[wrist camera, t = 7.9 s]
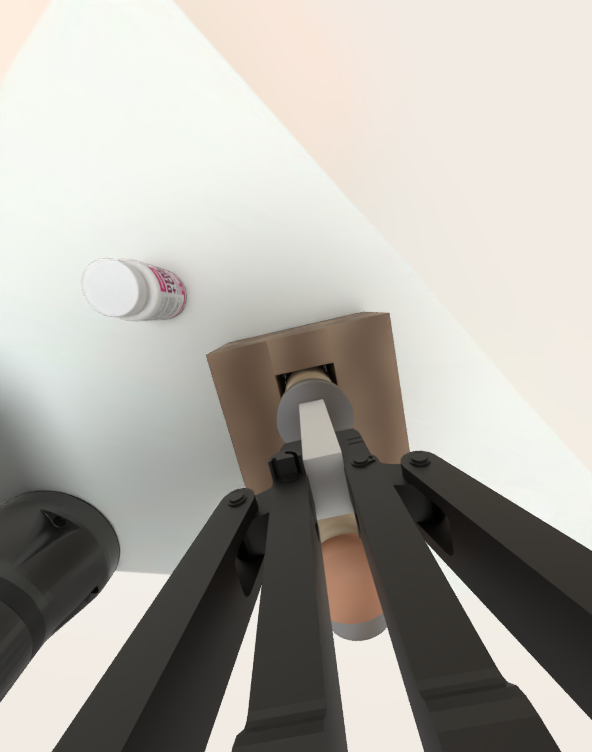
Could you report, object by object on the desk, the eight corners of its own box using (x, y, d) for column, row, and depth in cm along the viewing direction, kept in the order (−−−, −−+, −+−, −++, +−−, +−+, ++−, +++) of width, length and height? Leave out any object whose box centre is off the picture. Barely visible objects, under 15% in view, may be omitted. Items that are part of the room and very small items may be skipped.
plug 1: (288, 402, 30) (286, 462, 18) (278, 358, 29) (268, 392, 17) (333, 392, 30) (360, 446, 18) (324, 347, 29) (346, 374, 17)
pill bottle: (196, 289, 28) (156, 280, 20) (171, 328, 29) (124, 336, 21) (153, 258, 27) (94, 236, 19) (129, 300, 28) (63, 296, 20)
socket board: (286, 548, 35) (285, 616, 27) (228, 342, 29) (205, 355, 21) (398, 525, 35) (429, 589, 27) (363, 311, 29) (389, 312, 21)
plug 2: (319, 527, 34) (334, 645, 22) (310, 492, 33) (321, 597, 21) (359, 519, 34) (395, 634, 22) (351, 484, 32) (386, 585, 21)
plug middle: (306, 492, 28) (317, 630, 16) (296, 448, 27) (298, 561, 15) (355, 482, 27) (403, 614, 16) (346, 438, 26) (390, 543, 14)
